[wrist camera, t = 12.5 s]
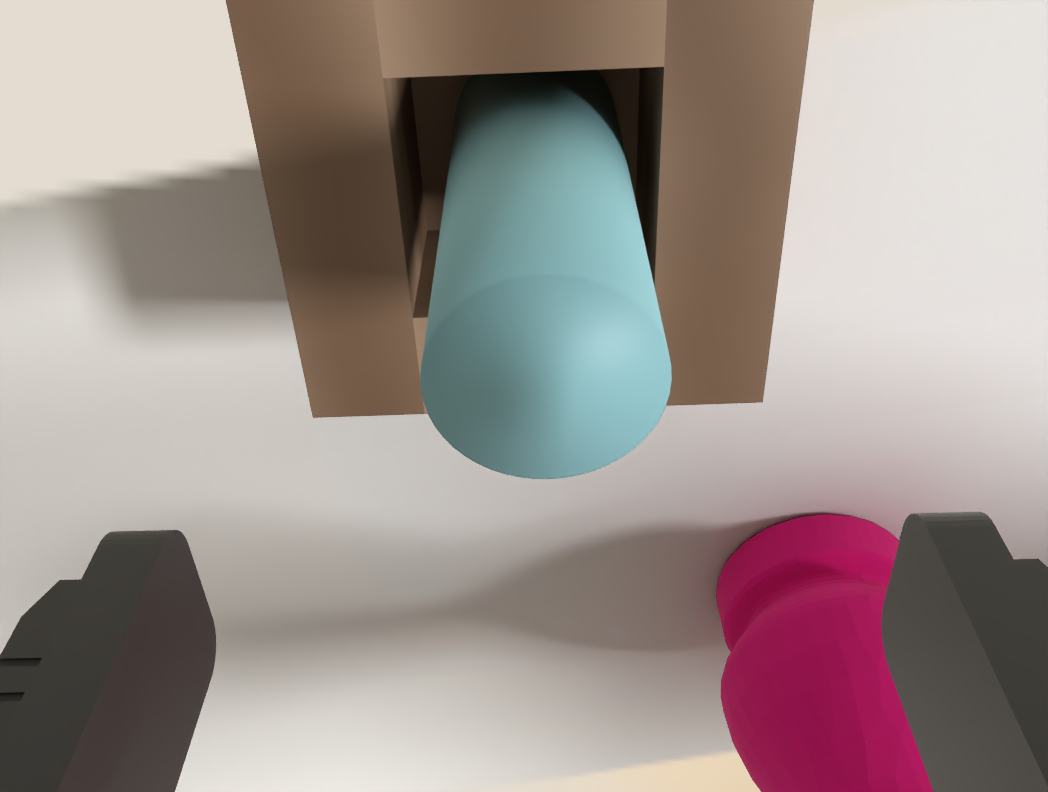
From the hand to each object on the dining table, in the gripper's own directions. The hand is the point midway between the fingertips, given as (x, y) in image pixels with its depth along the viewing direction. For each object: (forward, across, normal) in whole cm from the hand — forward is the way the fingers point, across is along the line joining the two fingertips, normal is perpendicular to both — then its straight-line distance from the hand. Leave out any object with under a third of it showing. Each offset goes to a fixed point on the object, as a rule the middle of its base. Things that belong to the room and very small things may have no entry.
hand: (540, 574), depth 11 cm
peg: (+14, 0, 0) cm, 14 cm away
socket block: (+15, 0, 0) cm, 15 cm away
